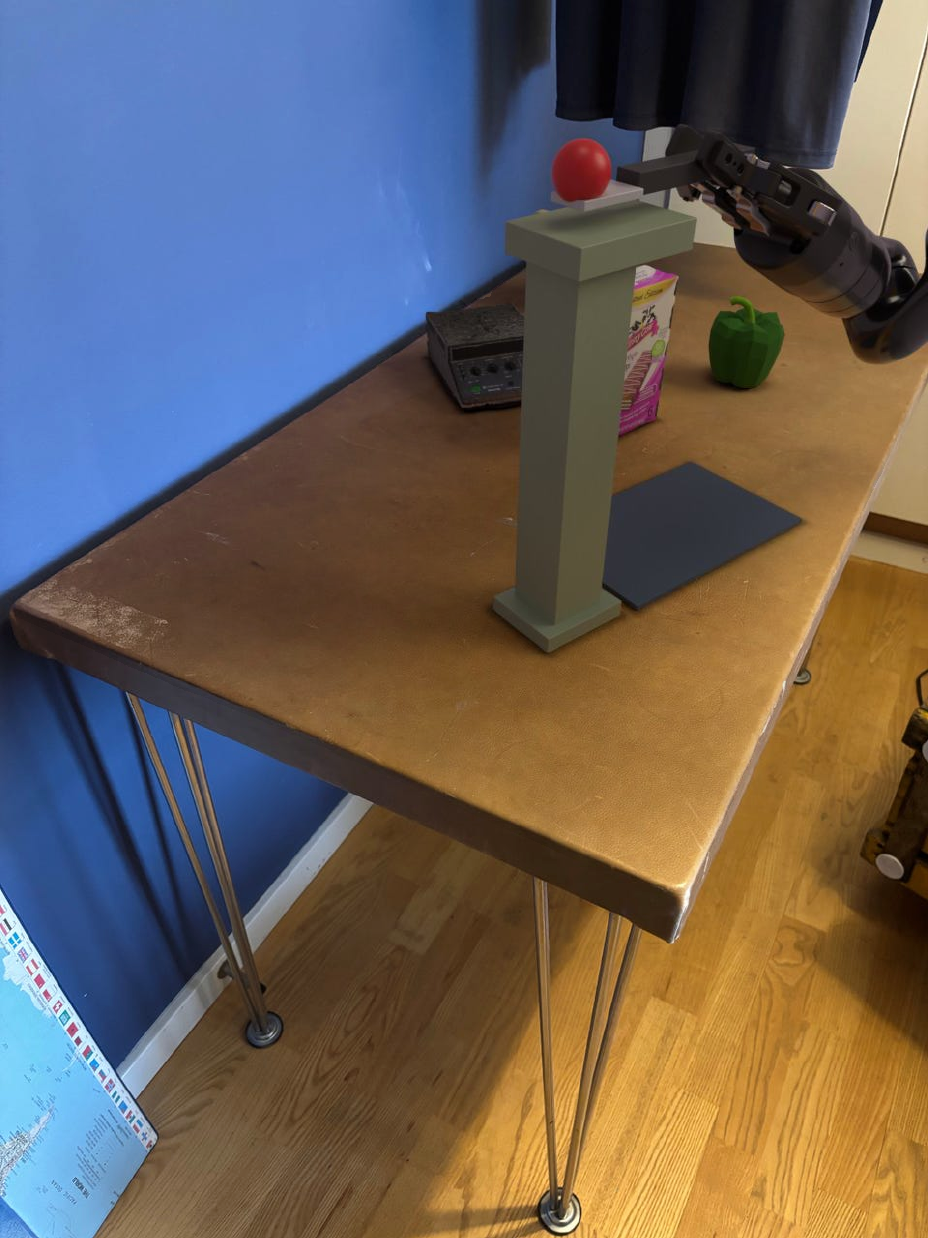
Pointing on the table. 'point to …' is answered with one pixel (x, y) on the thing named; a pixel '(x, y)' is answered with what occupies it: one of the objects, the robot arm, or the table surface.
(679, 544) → the mat
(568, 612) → the stand
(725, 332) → the bell pepper
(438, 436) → the table surface
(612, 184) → the bar with red ball
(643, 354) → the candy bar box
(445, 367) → the electronic device
